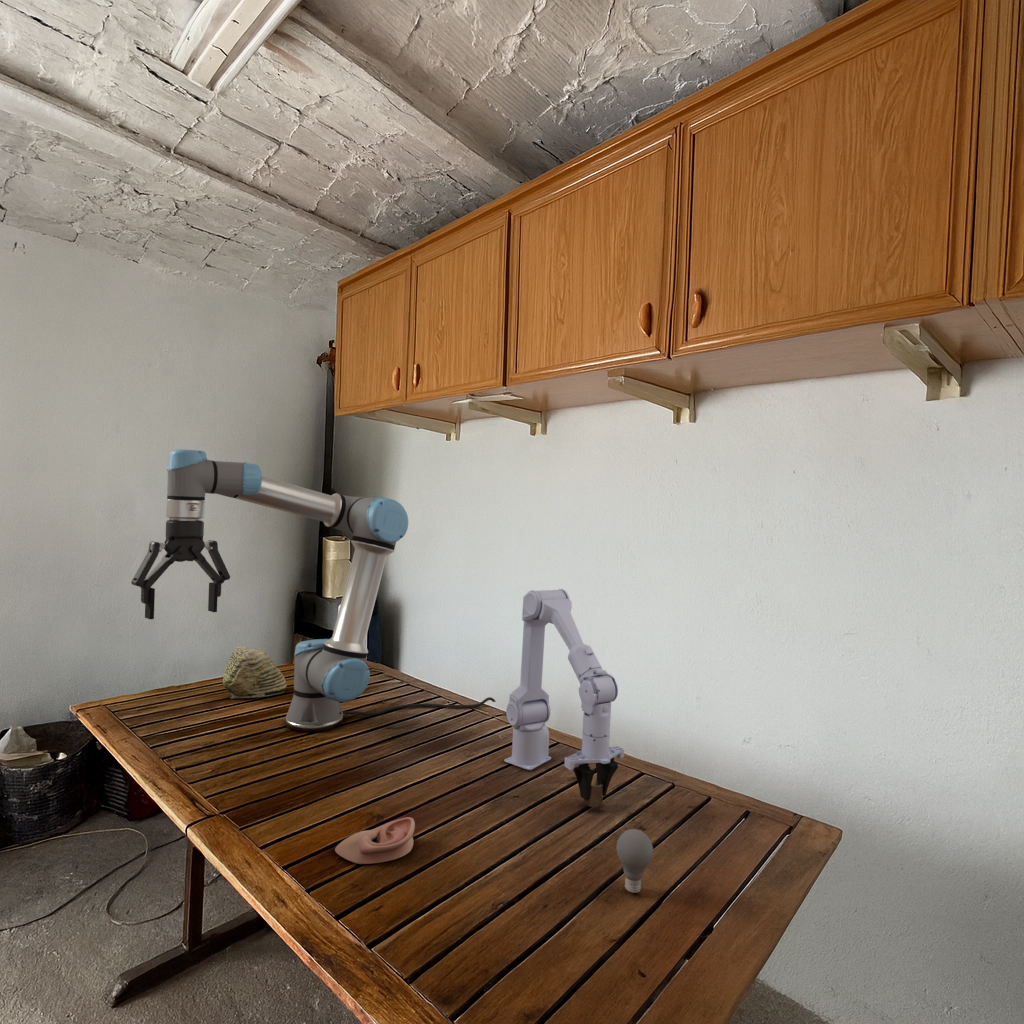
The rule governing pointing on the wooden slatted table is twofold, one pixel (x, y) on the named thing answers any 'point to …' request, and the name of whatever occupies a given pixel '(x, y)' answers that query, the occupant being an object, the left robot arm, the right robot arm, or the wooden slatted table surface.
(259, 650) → the fossil
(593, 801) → the tin
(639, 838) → the light bulb
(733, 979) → the wooden slatted table surface
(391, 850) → the anatomical model
